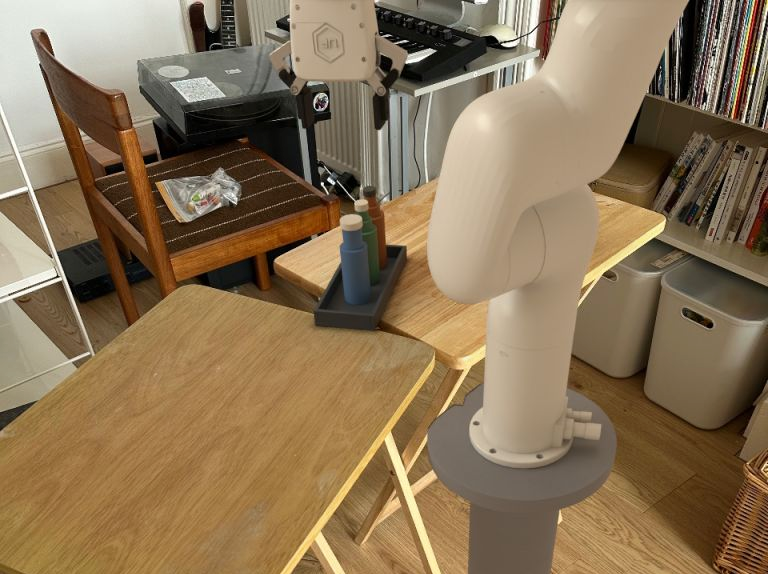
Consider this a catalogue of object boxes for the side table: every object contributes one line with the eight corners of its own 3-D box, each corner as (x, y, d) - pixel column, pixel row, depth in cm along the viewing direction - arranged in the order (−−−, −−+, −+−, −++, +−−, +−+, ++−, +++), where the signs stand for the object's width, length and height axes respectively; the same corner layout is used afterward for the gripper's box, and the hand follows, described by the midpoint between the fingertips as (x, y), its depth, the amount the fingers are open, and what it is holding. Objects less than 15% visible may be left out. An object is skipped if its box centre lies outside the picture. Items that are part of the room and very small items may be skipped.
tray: (407, 259, 129) (406, 245, 127) (375, 330, 115) (374, 315, 113) (353, 256, 131) (351, 242, 129) (315, 325, 117) (313, 310, 115)
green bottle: (382, 274, 125) (377, 197, 116) (376, 287, 123) (371, 209, 114) (358, 272, 126) (351, 195, 117) (351, 285, 123) (344, 207, 114)
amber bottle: (389, 259, 128) (385, 183, 120) (383, 272, 126) (379, 194, 117) (365, 258, 129) (360, 182, 120) (359, 270, 127) (353, 193, 118)
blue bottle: (373, 292, 122) (368, 213, 113) (367, 306, 119) (360, 226, 110) (348, 290, 122) (341, 212, 114) (341, 303, 120) (333, 224, 111)
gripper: (245, -24, 89) (271, 135, 101) (395, -28, 85) (403, 138, 97) (268, -39, 94) (290, 114, 106) (410, -43, 90) (416, 116, 102)
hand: (344, 125), depth 101 cm, fingers open, 9 cm apart
